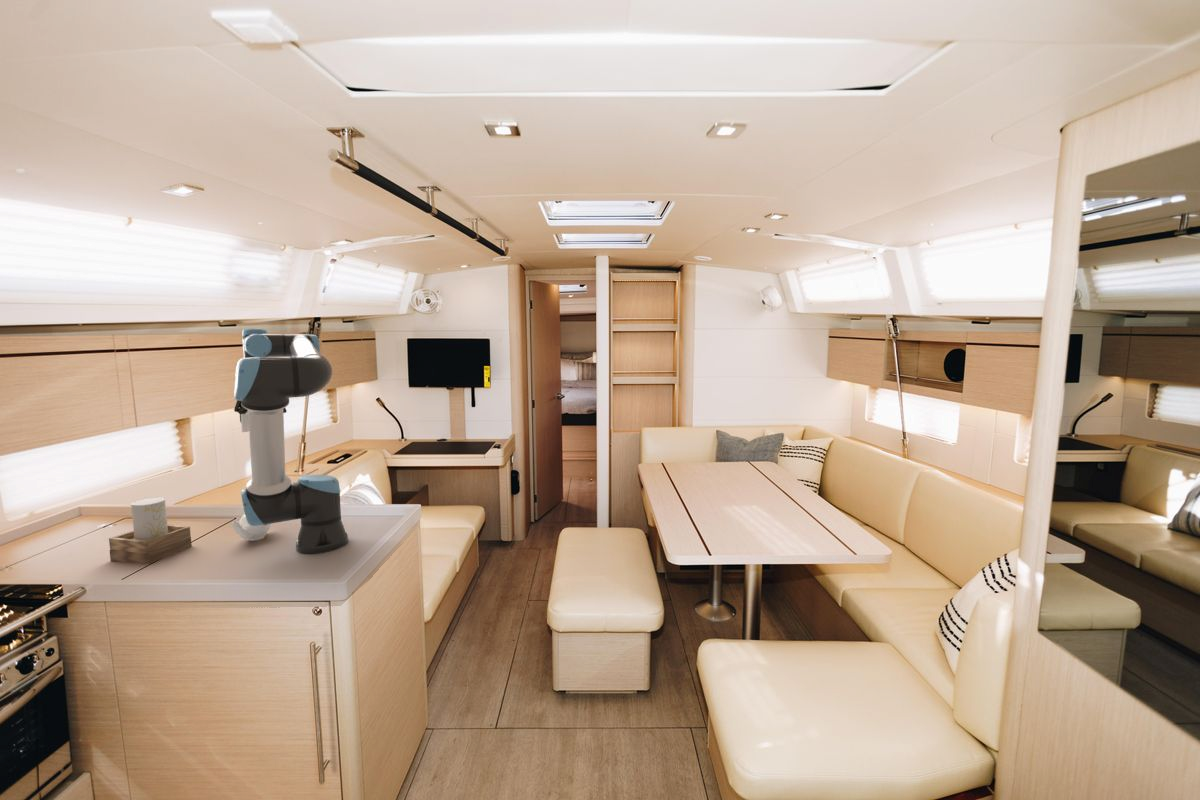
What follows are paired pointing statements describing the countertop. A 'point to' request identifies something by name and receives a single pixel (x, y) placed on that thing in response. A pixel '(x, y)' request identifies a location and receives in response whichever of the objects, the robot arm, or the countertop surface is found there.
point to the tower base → (151, 556)
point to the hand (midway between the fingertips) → (261, 432)
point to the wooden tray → (131, 545)
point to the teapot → (250, 529)
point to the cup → (149, 518)
